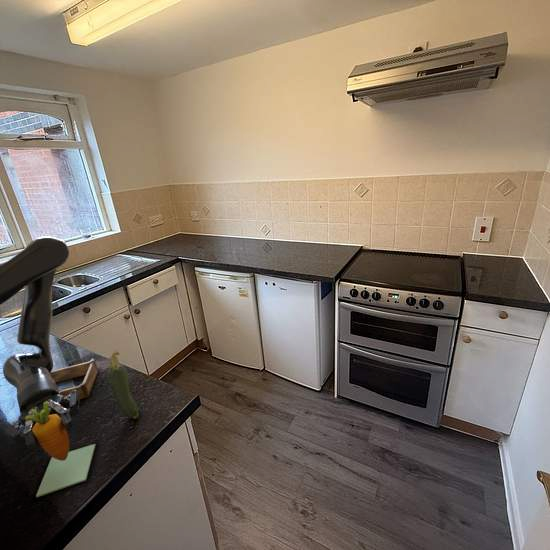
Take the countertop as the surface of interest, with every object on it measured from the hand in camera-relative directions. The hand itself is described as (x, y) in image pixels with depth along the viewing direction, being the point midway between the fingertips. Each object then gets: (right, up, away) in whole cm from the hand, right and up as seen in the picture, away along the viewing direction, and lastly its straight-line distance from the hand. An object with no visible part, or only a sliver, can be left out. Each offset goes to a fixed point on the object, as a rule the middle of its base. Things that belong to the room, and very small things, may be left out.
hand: (51, 436), depth 59 cm
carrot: (-1, -8, +5) cm, 10 cm away
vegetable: (+7, -5, +18) cm, 20 cm away
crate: (-18, -2, +31) cm, 36 cm away
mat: (-1, -10, +6) cm, 12 cm away
